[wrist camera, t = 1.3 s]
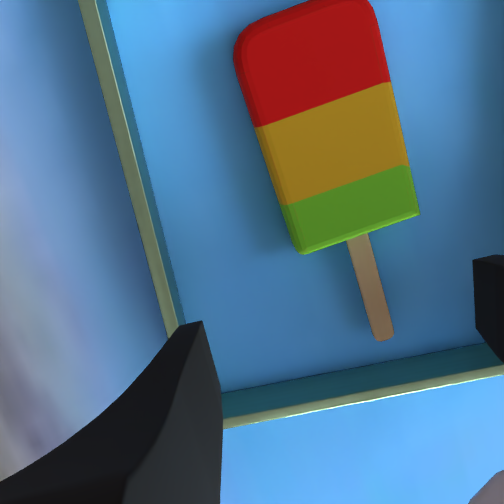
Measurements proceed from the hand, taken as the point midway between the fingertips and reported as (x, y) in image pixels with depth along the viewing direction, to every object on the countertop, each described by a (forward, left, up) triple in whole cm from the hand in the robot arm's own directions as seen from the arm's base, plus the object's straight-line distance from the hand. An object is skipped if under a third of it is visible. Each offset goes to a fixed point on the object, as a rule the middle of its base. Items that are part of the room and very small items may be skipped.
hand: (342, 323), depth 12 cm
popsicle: (-2, -1, -10) cm, 10 cm away
